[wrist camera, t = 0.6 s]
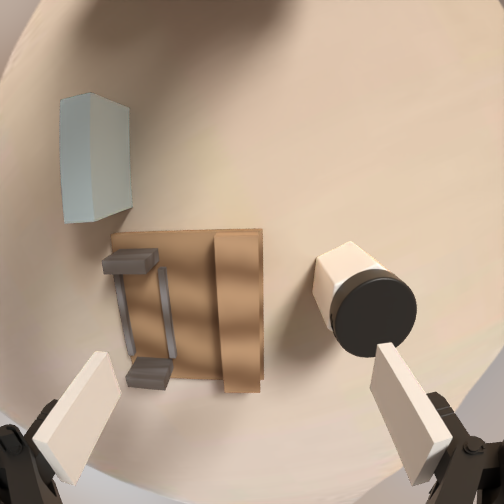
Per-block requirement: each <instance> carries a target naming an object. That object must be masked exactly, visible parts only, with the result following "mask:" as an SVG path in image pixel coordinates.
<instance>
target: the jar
mask: <svg viewBox="0 0 504 504" xmlns="http://www.w3.org/2000/svg"><path fill="white" fill-rule="evenodd" d="M312 293H313V296H314V298H315V300H316V303H317V305H318V307H319V310H320V312H321V314H322V317H323V319H324V322H325V324H326V326H327V328H328V329H329V330H331V331H332V332H333V333H334V335H335V337H336V339H337V341H338V342H339V343H340V345H341V346H342V347H343V348H344V349H345V350H346V351H347V352H349V353H351V354H353V355H355V356H358V357H366V358H368V357H375V356H376V350H377V344H383V343H391V342H392V344H393V345H394V347H395V348H396V347H397V346H399V345H400V344H401V343H402V342H403V341H404V340H405V339H406V337H407V336H408V335H409V333H410V331H411V330H412V328H413V325H414V322H415V319H416V314H417V304H416V299H415V296H414V294H413V292H412V290H411V289H410V288H409V287H408V286H407V285H406V284H405V283H404V282H403V281H402V280H400V279H399V278H398V277H397V276H396V275H394V274H393V273H392V272H390V271H389V270H388V269H387V268H386V267H384V266H383V265H382V264H381V263H380V262H378V261H377V260H376V259H375V258H373V257H372V256H371V255H369V254H368V253H367V252H365V251H364V250H363V249H361V248H360V247H359V246H357V245H356V244H355V243H353V242H352V241H349V242H347V243H345V244H343V245H341V246H339V247H337V248H335V249H333V250H331V251H328V252H326V253H324V254H322V255H320V256H318V257H317V258H316V267H315V275H314V282H313V290H312Z"/></svg>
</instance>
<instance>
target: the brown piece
mask: <svg viewBox="0 0 504 504" xmlns="http://www.w3.org/2000/svg"><path fill="white" fill-rule="evenodd" d="M111 244H112V252H113V254H111V255H110V256H108V257H107V258H105V259H104V260H102V266H103V273H104V274H113V275H114V282H115V288H116V294H117V300H118V306H119V311H120V316H121V322H122V327H123V332H124V336H125V341H126V346H127V350H128V355H131V359H132V363H133V365H132V367H131V369H130V370H129V372H128V374H127V376H126V377H125V378H126V381H127V385H128V387H135V388H144V389H155V390H166V387H167V384H168V382H169V379H170V378H187V379H214V380H224V391H225V393H260V380H264V321H263V230H262V229H217V230H180V231H149V232H122V233H113V234H111Z"/></svg>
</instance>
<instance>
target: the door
mask: <svg viewBox="0 0 504 504" xmlns="http://www.w3.org/2000/svg"><path fill="white" fill-rule="evenodd" d="M129 110H130V108H128V107H126V106H123V105H121V104H119V103H116V102H114V101H111V100H109V99H106V98H104V97H101V96H99V95H96V94H94V93H91V92H90V93H86V94H81V95H77V96H73V97H69V98H65V99H62V100H60V174H61V190H62V203H63V213H64V223H65V224H67V223H82V222H95V221H98V220H100V219H103V218H105V217H108V216H111V215H113V214H116V213H118V212H121V211H124V210H126V209H129V208H132V207H133V205H132V190H131V170H130V132H129Z"/></svg>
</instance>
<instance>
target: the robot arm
mask: <svg viewBox="0 0 504 504" xmlns="http://www.w3.org/2000/svg"><path fill="white" fill-rule="evenodd" d="M370 390H371V392H372V394H373V396H374V398H375V401H376V403H377V405H378V407H379V410H380V412H381V414H382V416H383V419H384V421H385V423H386V426H387V428H388V430H389V433H390V435H391V437H392V440H393V442H394V444H395V447H396V449H397V451H398V454H399V456H400V458H401V461H402V463H403V466H404V468H405V471H406V473H407V475H408V478H409V480H410V483H411V485H412V486H415V485H419V484H422V483H425V482H428V481H429V480H430V479H431V477H432V475H433V474H435V476H436V478H437V481H436V483H435V484H434V486H433V487H432V489H431V491H430V492H429V494H430V496H429V498H428V500H427V502H426V504H473V501H474V498H475V495H476V491H477V504H504V440H503V442H496V443H485V442H484V441H483V440H482V439H481V438H478V437H475V436H470V435H469V434H468V432H467V431H466V429H465V428H464V426H463V425H462V423H461V421H460V420H459V418H458V417H457V416H456V414H454V411H453V410H452V408H451V407H450V405H449V404H448V402H447V401H446V399H445V398H444V397H443V396H441V395H440V394H438V393H437V392H432V393H428V394H426V393H425V392H424V390H423V389H422V387H421V386H420V384H419V383H418V381H417V379H416V378H415V376H414V375H413V373H412V372H411V370H410V369H409V367H408V366H407V364H406V363H405V361H404V360H403V358H402V357H401V355H400V354H399V352H398V351H397V349H396V348H395V347H394V345H393V344H392V342H391V343H383V344H377V350H376V356H375V362H374V368H373V374H372V379H371V385H370ZM120 396H121V391H120V388H119V385H118V382H117V379H116V376H115V373H114V370H113V367H112V363H111V360H110V357H109V353H108V352H101V351H95V352H94V354H93V355H92V356H91V357H90V359H89V360H88V361H87V363H86V364H85V365H84V367H83V368H82V369H81V371H80V372H79V373H78V375H77V376H76V377H75V379H74V380H73V381H72V383H71V384H70V386H69V387H68V388H67V390H66V391H65V392H64V394H63V395H62V397H61V398H60V399H59V400H55V399H54V400H53V401H51V402H50V403H49V404H47V405H46V406H45V407H44V409H43V410H42V411H41V414H39V416H38V417H37V420H35V421H34V423H33V424H32V425H31V427H30V428H29V429H28V431H27V432H26V434H25V435H24V437H23V435H22V434H21V432H20V430H19V428H18V427H16V426H15V425H11V424H9V425H4V426H1V427H0V504H63V503H62V501H61V498H60V495H59V493H58V490H57V487H56V484H55V482H54V480H53V479H52V478H53V476H54V475H55V474H56V475H57V476H58V478H59V479H60V480H61V481H62V482H65V483H68V484H72V485H75V486H76V484H77V482H78V480H79V478H80V475H81V473H82V471H83V469H84V467H85V465H86V463H87V461H88V459H89V457H90V455H91V453H92V451H93V449H94V447H95V445H96V443H97V441H98V439H99V437H100V435H101V433H102V431H103V429H104V427H105V425H106V423H107V421H108V419H109V417H110V415H111V413H112V411H113V409H114V407H115V405H116V403H117V401H118V400H119V398H120Z"/></svg>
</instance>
